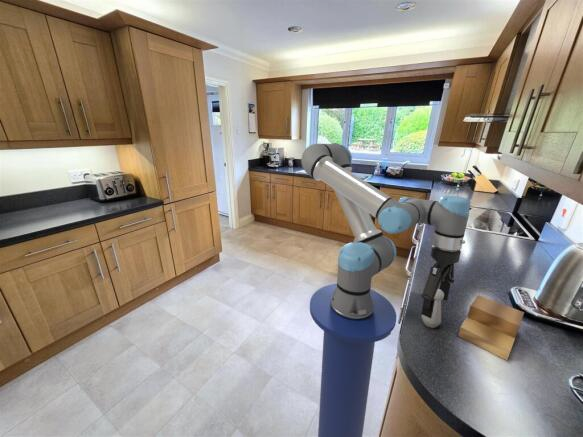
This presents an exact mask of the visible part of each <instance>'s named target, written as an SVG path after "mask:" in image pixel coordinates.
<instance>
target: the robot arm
mask: <svg viewBox="0 0 583 437" xmlns="http://www.w3.org/2000/svg"><path fill="white" fill-rule="evenodd" d="M352 156H353V155H352V153H351V151H350V149H349V148H348V147H347V146H346V145H344V144H342V143H337V142H332V143H313V144H310V145H309V146H307V147H306V148H305V149H304V150H303V153H302V155H301V162H300V163H301V167H302V169H303V171H304V172H305V173H306V174H307V175H308V176H309V177H311V178H312V179H313V180H315V181H317V182H320V181H322V182H323V183H324V184H326V185H328V186H329V187H330V188H332V189H333V191H334V193H335V196H336V199H337V201H338V203H339V205H340V207H341V209H342V211H343V213H344V216H345V218H346V220H347V223H348V225H349V227H350V229H351V232H352V234H353V236H354V239H353V242H349V243H346V244H344V245H343V246H341V248H340V249H339V253H338V257H337V262H338V263H337V279H336V284H337V286H336V288H335V290H334V293H333V295H332V297H331V308H332V310H333V311H334V312H335V313H336V314H337V315H339V316H341V317H343V318H345V319H348V320H355V321H359V320H365V319H367V318H369V317H370V316H371V315H372V314H373V309H374V305H373V301H372V296H371V292H370V289H371V288H372V287H371V285H372V279H373V277H375V276H376V275H377V274H379V273H380V272H382V271H384V270H385V269H387V268H389V267H390V266H391V265H392V264H393V263H394V262H395V260H396V257H397V248H396V245H395V243H394V242H393V240H391V239H390V238H388V237H387V236H385V235H384V232H385V233H387V234H391V235H395V234H399V233H402V232H405V231H407V230H408V229H409V228H411V227H413V226H415V225H418V224H423V225H427V226H434V232H433V238H432V245H431V249H430V257H431V258H432V259H433V260H434V261H435V263H434V264H433V265H432V266H430V268H429V269H430V270H429V274H428V276H427V279H426V283H425V286H424V288H423V291H422V293H421V294H420V296H421V299H423V304H422V308H421V316H422V315H424V316H426V317H428V318H431V317H432V313H433V307H434V302H435V299H434V297H435V295H436V292H437V290H438V289H440V290H442V291H443V293H444V298H443V299H442V300H444V301H446V302H447V301H448V298H449V294H450V289H451V284H454V283H455V279H454V278H455V264H457V263H459V261H460V259H461V258H460V257H461V254H462V248H463V244H466V240H464V238H465V234H466V229H467V225H468V220H469V217H470V210H471V209H470V208H471V201H470V199H469V198H467V197H465V196H459V195H443V196H441V197H440V198H439V201H437V200H436V201H435V200H429V199H422V198H417V197H414V196H413V197H412V196H411V197H409V196H408V197H407V196H403V197H400V198H399V199H398V200H396V199H395V198H394V197H391V196H390V195H389V194H387V193H385V192H383V191H381V190H380V189H379V188H377V187H375V186H373V185H371V184H370V183H368V182H367V181H366V180H364V179H362V178H361V177H359V176H357V175H355V174H354V173H352V171H353V167H352V160H353V157H352ZM371 216H373V217H374V218H375V219H377V221H378V225H379V227H380V228H381V229H378V228H377V227H376V226H375V224H374V220H373V219H372V217H371Z"/></svg>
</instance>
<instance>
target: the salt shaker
mask: <svg viewBox="0 0 583 437" xmlns="http://www.w3.org/2000/svg"><path fill="white" fill-rule="evenodd" d="M443 298H444V293H443V291H442V290H440V288H438V290H437V292H436V295H435V297H434V299H435V302H434V307H433V313H432V317H431V318H428V317H426V316H424V315H422V314H421V320H422V322H423V324H424V325H425V326H426V327H429V328H431V329H434V328H437V327H438V326H440V324H442V300H443Z"/></svg>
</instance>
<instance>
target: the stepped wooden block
mask: <svg viewBox="0 0 583 437" xmlns="http://www.w3.org/2000/svg"><path fill="white" fill-rule="evenodd" d="M524 315H525V312H524V311H521V310H519V309H516V308H514V307H511V306H508V305H506V304H503V303H500V302H498V301H495V300H492V299H490V298H487V297H484V296H482V295H479V294H477V295H476V297H475V298H474V300H473V301H472V302H471V304H470V305H469V308H468V313H467V317H466V318H465V319H464V321H463V323H462V324H461V326H459V327H460V328H459V331H458V335H457V336H458V337H460V338H461V339H463V340H466V341H467V342H469V343H471V344H474V345H475V346H478V347H479V348H481V349H483V350H485V351H487V352H489V353H491V354H493V355H495V356H497V357H499V358H501V359H503V360H505V361H508V359H509V357H510V354H511V351H512V348H513V346H514V343H515V341H516V338H517V336H518V332H519V329H520V326H521V324H522V320H523V318H524Z"/></svg>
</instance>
